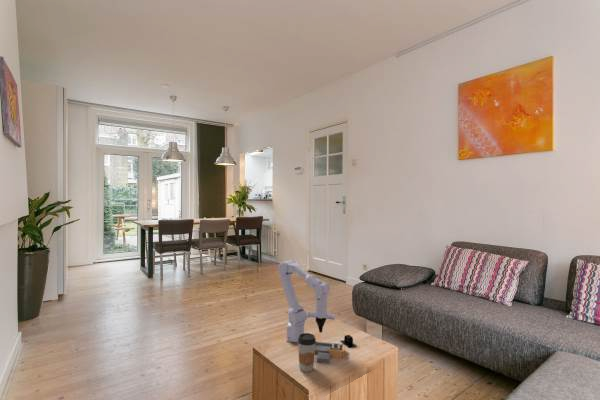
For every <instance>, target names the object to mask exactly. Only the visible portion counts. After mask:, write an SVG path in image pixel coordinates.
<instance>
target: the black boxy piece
mask: <svg viewBox="0 0 600 400" xmlns="http://www.w3.org/2000/svg"><path fill="white" fill-rule="evenodd" d="M339 342H340V344H345V346H346V347H347V348H348V349H352V348H357V347H358V345H356V344H355V343H354V338H353V336H351V335H350V334H346V335H344V339H342V340H339Z"/></svg>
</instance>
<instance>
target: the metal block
mask: <svg viewBox="0 0 600 400" xmlns="http://www.w3.org/2000/svg"><path fill="white" fill-rule="evenodd" d="M334 343H335V342H334ZM338 344H339V343H335V344H332V349H333V350H340V345H338Z"/></svg>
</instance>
